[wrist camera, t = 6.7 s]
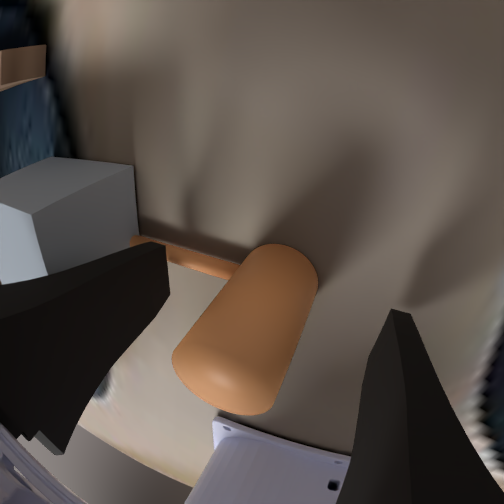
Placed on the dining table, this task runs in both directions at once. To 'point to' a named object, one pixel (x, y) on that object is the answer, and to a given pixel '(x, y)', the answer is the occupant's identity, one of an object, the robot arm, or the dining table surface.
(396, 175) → the dining table surface
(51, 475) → the robot arm
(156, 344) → the dining table surface
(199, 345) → the pull block
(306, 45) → the dining table surface
